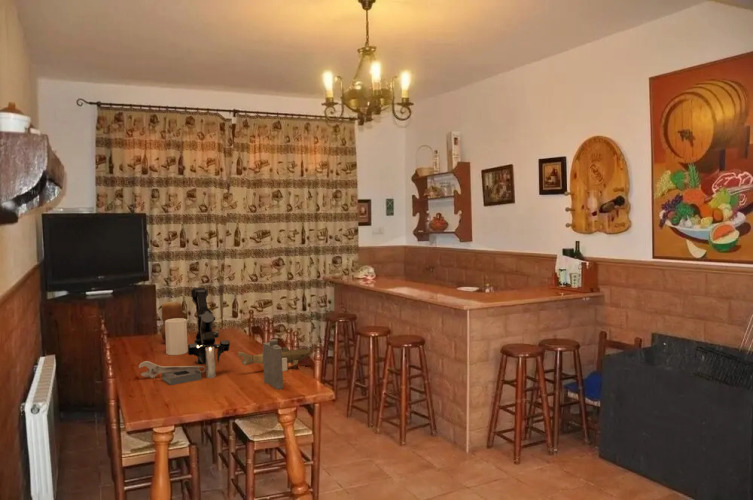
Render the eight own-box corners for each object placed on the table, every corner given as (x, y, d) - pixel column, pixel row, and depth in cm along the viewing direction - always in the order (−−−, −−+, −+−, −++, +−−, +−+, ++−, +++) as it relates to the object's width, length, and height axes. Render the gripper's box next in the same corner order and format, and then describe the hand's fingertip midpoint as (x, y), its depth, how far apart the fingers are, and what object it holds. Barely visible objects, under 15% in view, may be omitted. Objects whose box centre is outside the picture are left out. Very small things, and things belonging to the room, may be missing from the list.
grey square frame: (162, 379, 273) (161, 373, 273) (191, 374, 282) (191, 367, 281) (170, 385, 264) (170, 378, 263) (201, 379, 272) (201, 372, 272)
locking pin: (205, 376, 276) (204, 347, 275) (213, 375, 279) (212, 345, 278) (208, 378, 273) (207, 348, 272) (216, 377, 275) (215, 347, 275)
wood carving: (236, 372, 282) (235, 349, 281) (307, 364, 296) (306, 341, 295) (240, 377, 274) (239, 353, 273) (313, 368, 288) (312, 345, 287)
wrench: (204, 378, 285) (137, 379, 273) (204, 377, 287) (137, 378, 275) (206, 361, 285) (139, 361, 273) (205, 360, 287) (139, 361, 275)
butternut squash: (176, 339, 365) (175, 299, 363) (190, 341, 357) (188, 300, 355) (157, 343, 353) (155, 302, 352) (170, 346, 346) (168, 303, 344)
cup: (161, 354, 324) (160, 321, 323) (175, 350, 335) (174, 317, 334) (178, 356, 320) (176, 322, 319) (191, 351, 330) (190, 318, 329)
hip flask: (263, 381, 266) (261, 337, 265) (271, 380, 268) (270, 336, 267) (277, 389, 252) (275, 343, 251) (286, 388, 255) (284, 342, 253)
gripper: (187, 326, 275) (190, 355, 265) (228, 323, 282) (232, 350, 272) (186, 340, 282) (189, 368, 273) (226, 336, 289) (230, 364, 280)
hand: (210, 362), depth 274 cm, fingers open, 6 cm apart
